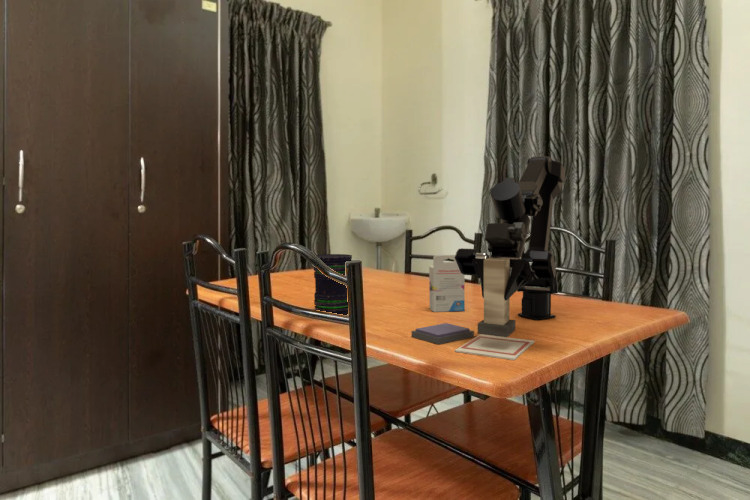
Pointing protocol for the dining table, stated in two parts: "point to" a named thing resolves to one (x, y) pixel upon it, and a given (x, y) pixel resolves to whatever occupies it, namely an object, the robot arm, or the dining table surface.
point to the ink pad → (442, 333)
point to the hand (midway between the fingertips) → (494, 298)
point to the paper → (496, 346)
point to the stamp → (496, 299)
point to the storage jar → (331, 286)
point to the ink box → (446, 285)
